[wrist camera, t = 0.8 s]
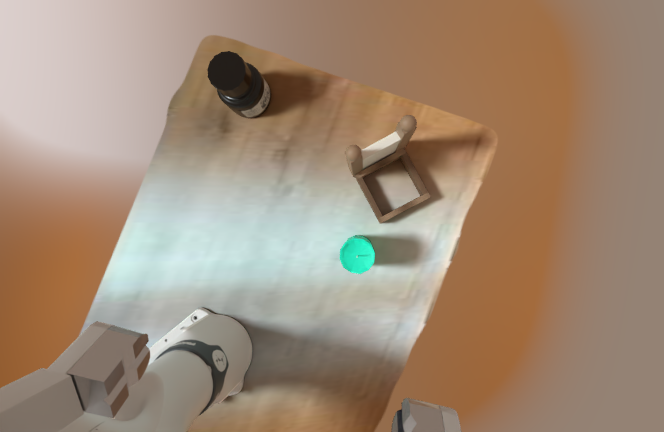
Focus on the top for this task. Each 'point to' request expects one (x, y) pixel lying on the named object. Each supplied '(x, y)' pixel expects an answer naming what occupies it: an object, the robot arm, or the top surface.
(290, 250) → the top surface
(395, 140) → the headboard
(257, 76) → the ink bottle
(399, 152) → the shallow open wooden box
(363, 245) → the candle
